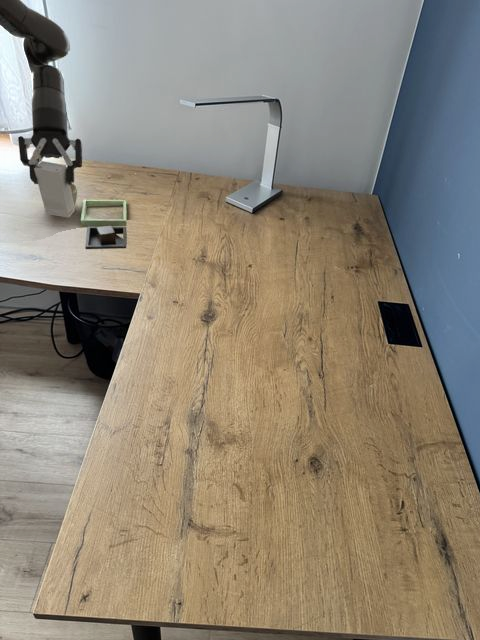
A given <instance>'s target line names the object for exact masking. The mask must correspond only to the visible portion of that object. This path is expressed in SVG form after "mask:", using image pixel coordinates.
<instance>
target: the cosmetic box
mask: <svg viewBox="0 0 480 640" xmlns="http://www.w3.org/2000/svg"><path fill="white" fill-rule="evenodd" d="M34 171H35V174H36V178H37V181H38V184H37V185H38V187H39V188H38V189H39V192H40V196H41V200H42V203H43V208H44V212H45V214H47V215H51V216H57V217H63V218H68V219H69V218H70V217H71V216H72V215H73V214H74V212H75V211H76V205H75V206H74V201H73V196H72V192H71V187H70V185H68V183H67V164H63V163H56V162H50V161H44V160H42V161H41V162H39V164H38V165H37V166H36V167H35V168H34Z"/></svg>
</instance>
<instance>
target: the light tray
mask: <svg viewBox="0 0 480 640" xmlns="http://www.w3.org/2000/svg"><path fill="white" fill-rule="evenodd" d="M81 206H82V208H81V215H80V225H81V228H87V227H103V226H112V227H127V226H128V225H127V213H128V212H127V200H126V199H83V200H82V205H81ZM112 206H113V207H115V206H116V207H117V206H118V207H119V206H122V207H123V210H122V213H123V216H122V218H120V219H118V218H99V219H98V218H92V217H91V216H90V215H88V214H87V207H112Z"/></svg>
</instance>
